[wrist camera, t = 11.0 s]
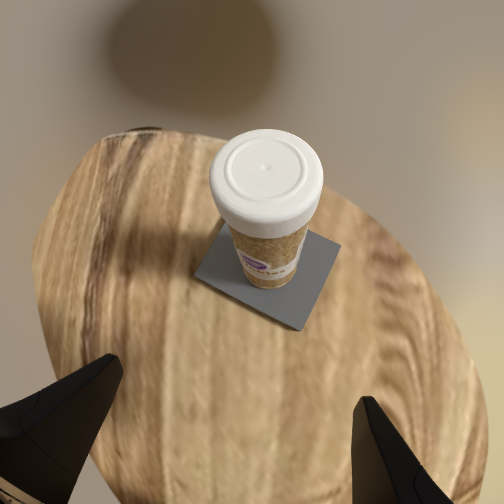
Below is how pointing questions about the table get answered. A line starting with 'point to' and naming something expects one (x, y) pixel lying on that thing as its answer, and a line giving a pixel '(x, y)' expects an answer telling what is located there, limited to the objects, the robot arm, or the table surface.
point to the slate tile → (271, 300)
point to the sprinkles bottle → (267, 200)
